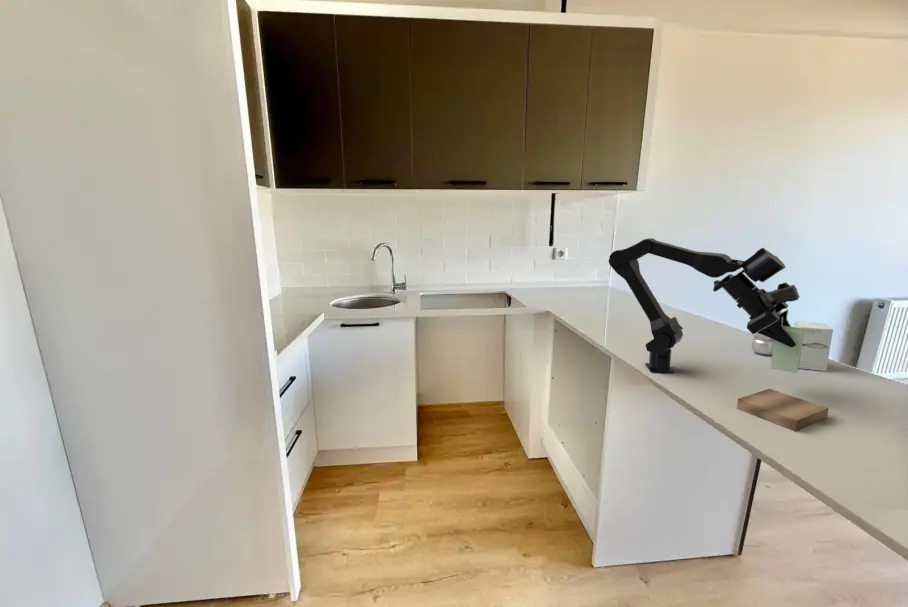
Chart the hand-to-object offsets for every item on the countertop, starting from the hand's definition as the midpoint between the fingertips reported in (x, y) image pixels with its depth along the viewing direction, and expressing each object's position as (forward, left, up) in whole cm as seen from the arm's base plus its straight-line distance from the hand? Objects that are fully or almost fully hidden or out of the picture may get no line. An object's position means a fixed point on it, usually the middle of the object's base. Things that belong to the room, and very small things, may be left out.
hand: (795, 343), depth 99 cm
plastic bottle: (-33, +11, -14) cm, 38 cm away
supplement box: (-22, +17, -14) cm, 31 cm away
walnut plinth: (+10, -7, -14) cm, 18 cm away
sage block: (-1, -1, -7) cm, 7 cm away
